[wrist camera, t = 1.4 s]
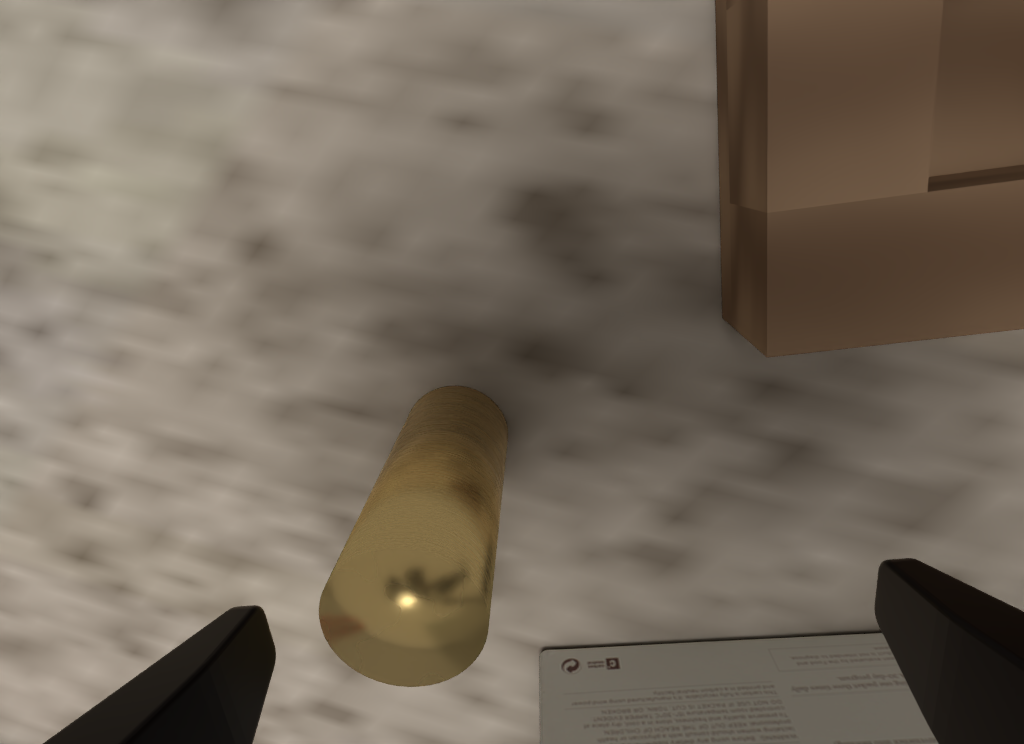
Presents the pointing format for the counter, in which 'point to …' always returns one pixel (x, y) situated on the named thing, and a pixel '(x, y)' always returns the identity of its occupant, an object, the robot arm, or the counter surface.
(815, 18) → the walnut socket block
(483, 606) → the brass pin
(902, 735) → the supplement box
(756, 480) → the counter surface
